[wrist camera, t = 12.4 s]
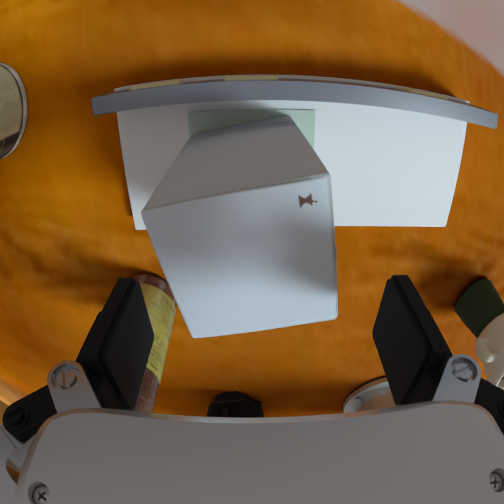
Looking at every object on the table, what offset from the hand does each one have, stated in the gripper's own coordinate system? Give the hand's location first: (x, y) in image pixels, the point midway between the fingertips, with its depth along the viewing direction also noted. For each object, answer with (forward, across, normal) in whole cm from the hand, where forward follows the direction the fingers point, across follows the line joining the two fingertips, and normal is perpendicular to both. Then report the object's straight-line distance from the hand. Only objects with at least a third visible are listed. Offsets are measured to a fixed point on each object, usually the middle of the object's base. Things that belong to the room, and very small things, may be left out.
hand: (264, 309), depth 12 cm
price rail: (+14, -4, -7) cm, 16 cm away
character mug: (+17, -28, +15) cm, 36 cm away
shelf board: (+16, -4, -2) cm, 17 cm away
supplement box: (+14, +1, -1) cm, 15 cm away
